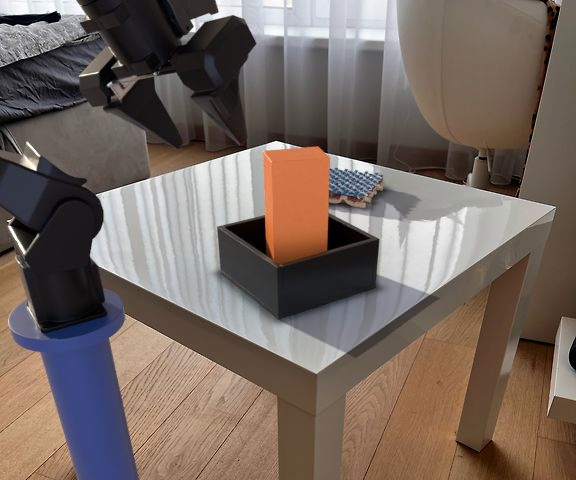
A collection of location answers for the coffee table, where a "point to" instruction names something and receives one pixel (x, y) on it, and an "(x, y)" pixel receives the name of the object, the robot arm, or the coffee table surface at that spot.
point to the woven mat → (353, 187)
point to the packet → (296, 202)
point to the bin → (298, 266)
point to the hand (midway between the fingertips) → (210, 144)
